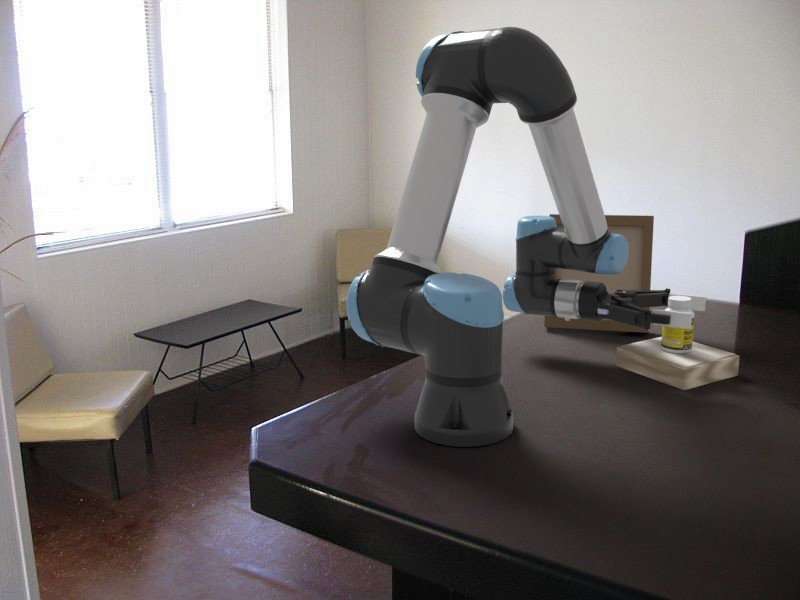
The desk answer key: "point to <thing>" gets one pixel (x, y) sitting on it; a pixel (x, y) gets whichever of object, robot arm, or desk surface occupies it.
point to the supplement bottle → (678, 337)
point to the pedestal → (678, 363)
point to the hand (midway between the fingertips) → (698, 312)
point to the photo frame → (629, 278)
